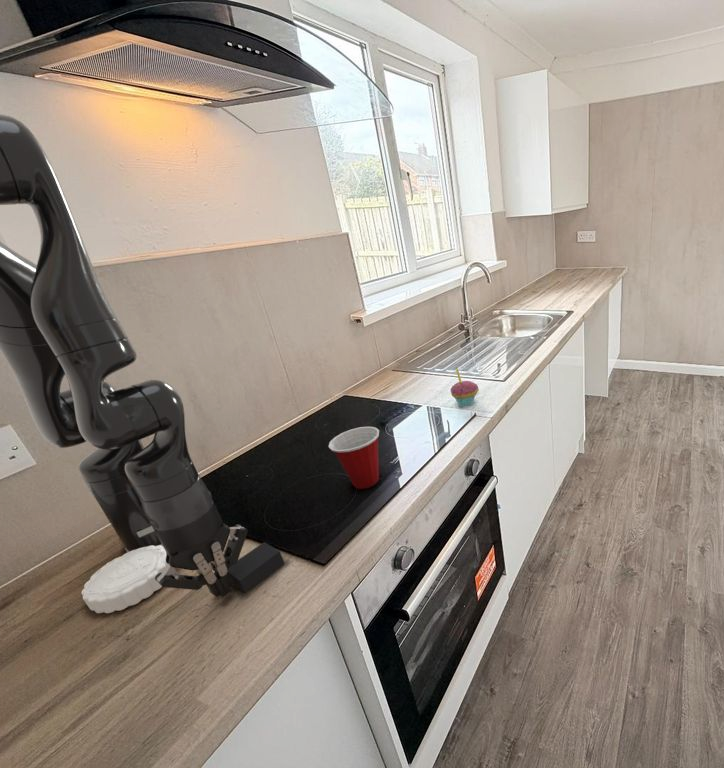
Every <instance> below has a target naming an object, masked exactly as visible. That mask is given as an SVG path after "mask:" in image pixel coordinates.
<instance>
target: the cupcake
mask: <svg viewBox="0 0 724 768" xmlns="http://www.w3.org/2000/svg"><path fill="white" fill-rule="evenodd" d="M455 372H456V375H457V379H458V382H456V383H454V384H453V385H452V386H451V388H450V392H451V393H450V394H451V397H452V398H454V399H455V401H456V402H457V404H458V406H459V407H470V406H472V405H473V404H474V402H475V397H476V395H477V394H478V393H479V391H480V388H479V385H478V384H477V383H475V382H473V381H471V380H462V378H461V373H460V371H459V368H458V367H457V366H455Z"/></svg>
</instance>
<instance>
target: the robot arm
mask: <svg viewBox="0 0 724 768" xmlns="http://www.w3.org/2000/svg"><path fill="white" fill-rule="evenodd" d="M11 205H13V206H14V205H28V206H30V207H31V209H32V211H33V214H34V216H35V219H36V221H37V225H38V229H39V234H40V235H39V236H40V246H39V255H38V259H37V262H36V263H37V264H36V263H34V262H33V261H31V260H30V259H28V258H27V257H25V256H23V255H22V254H19V252H17V251H15V249H12V248H10V247H9V246H8V245H6V244H5V243H4V242H2V241H1V240H0V353H1V355H2V356H3V358H4V360H5V361H6V363H7V365H8V366H9V368H10V370H11V371H12V374H13V375H14V377H15V379H16V382H17V384H18V386H19V389H20V391H21V394H22V397H23V399H24V401H25V403H26V406H27V409H28V411H29V414H30V416H31V418H32V420H33V422H34V425H35V427H36V429H37V430H38V432H39V434H40V435H41V436H42V437H43V439H44V440H45V441H47V442H48V444H50V445H52V446H54V447H56V448H60V449H66V448H71V447H75V446H79V445H82V444H85V443H88V444H89V445H91V446H93V447H95V449H94V450H93V451H92V452H91V453H89V454H88V455H86V456H85V457H84V458H83V459H82V460H81V461H80V462H79V464H78V466H77V468H78V472H79V474H80V476H81V477H82V479H83V481H84V482H85V484H86V486H87V488H88V489H89V491H90V492H91V494H92V495H93V497H94V498H95V500H96V502H97V504H98V505H99V507H100V508H101V510H102V512H103V513H104V515H105V517H106V518H107V520H108V522H109V523H110V525H111V527H112V528H113V530H114V531H115V534H116V535H117V537H118V538H119V540H120V542H121V544H122V545H123V547H124V550H125V551H126V553H128V552H130V551H132V550H136V549H138V548H142V547H148V546H151V545H153V546H158V545H161V546H163V547H164V549H165V551H166V562H167V566H166V567H165V569H164V570H163V572H161V573H158V574H157V575H156V576H155V580H156V581H157V582H158V583H159V584H160V585H161V586H162V587H163V588H169V589H178V590H179V589H181V590H190V591H191V590H192V591H199V590H201V589H202V588H203V587H204V586H206V587H207V588H208V590H209V592H210V594H212V596H214V597H215V598H219V597H220V598H224V597H226V596H227V595H228V594H230V593H232V589H231V588H232V587H233V586H234V584H233V582H232V580H231V578H230V576H229V574H228V569H229V568H230V567H231V566H232V565H235V564H236V563H237V561H238V560H239V559H240V558H239V557H240V555H241V552H242V549H243V548H244V544H245V541H246V538H247V535H248V532H249V530H248V529H247V528H245V527H244V526H242V525H241V524H234V526H229V525H228V524H226V523H225V522H223V521H224V520H223V519H222V517H221V514H220V513H219V511H218V508H217V506H216V504H215V502H214V500H213V496H212V492H210V491H209V488H208V487H207V485H206V483H205V482H204V481H203V479H202V478H201V477H200V475H199V473H198V471H197V468H196V466H195V464H194V462H193V459H192V458H191V454H190V452H189V448H188V442H187V435H186V418H185V417H186V415H185V408H184V402H183V399H182V397H181V395H180V393H179V392H178V390H177V389H176V388H175V387H173V386H172V385H171V384H169V383H168V382H165V381H164V380H160V379H149V380H148V379H147V380H144V381H141V382H137V383H134V384H131V385H128V386H126V387H122V388H120V389H116V388H115V387H114V386H113V385H112V384H111V383H109V382H107V381H105V380H106V379H107V378H108V377H109V376H110V375H112V374H114V373H116V372H118V371H120V370H122V369H125V368H127V367H128V366H130V365H132V364H134V363H135V362H136V360H137V357H138V355H137V352H136V349H135V347H134V345H133V343H132V342H131V340H130V339H129V336H128V335H127V333H126V331H125V329H124V328H123V327H124V326H122V324H121V322H120V320H119V318H118V316H117V315H116V313H115V312H114V310H113V308H112V306H111V304H110V302H109V300H108V298H107V297H106V295H105V293H104V290H103V288H102V286H101V283H100V282H99V279H98V276H97V273H96V272H95V269H94V267H93V264H92V261H91V258H90V256H89V253H88V250H87V248H86V245H85V242H84V239H83V236H82V235H81V232H80V230H79V226H78V224H77V222H76V219H75V217H74V215H73V213H72V210H71V208H70V205H69V203H68V200H67V197H66V195H65V193H64V190H63V188H62V185H61V183H60V181H59V178H58V175H57V173H56V171H55V169H54V167H53V165H52V162H51V160H50V159H49V156H48V155H47V153H46V151H45V150H44V148H43V147H42V144H41V143H40V141H38V139H37V137H36V136H35V134H34V133H33V132H32V131H31V130H30V129H29V128H28V126H26V125H25V123H23V122H22V121H20V120H18V119H17V118H15V117H13V116H10V115H7V114H1V113H0V206H11ZM64 378H66V379H67V382H68V385H69V388H68V389H64V390H62V391H61V386H62V383H63V380H64ZM153 435H154V436H153ZM150 436H153V438H152V441H150V443H149V444H148V445H146V446H145V445H144V443H143V441H142V440H143V439H145V438H148V437H150ZM177 569H180V570H187V571H196V572H197V574H198V575H188V574H180V572H179V571H178V570H177ZM162 587H161V588H162Z"/></svg>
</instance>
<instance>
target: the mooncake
mask: <svg viewBox="0 0 724 768" xmlns="http://www.w3.org/2000/svg"><path fill="white" fill-rule="evenodd" d="M166 566H167V562H166V551H165V549H164V547H163V546H161V545H158V546H153V545H151V546H148V547H142V548H138V549H136V550H132V551H130V552H128V553H127V552H125V553H124V554H123V555H122V556H119V557H116V558H114V559H111V561H109V562H107V563H106V564H105V565H103V566H102V567H101V568H99V569H98V570H97V571H95V572H94V573H93V574H92V575H91V576H90V578H89V580H87V581H86V582H85V584H84V585H83V589H82V590H81V595H82V600H83V601H84V603H85V604H86V606H87V607H88V609H90V611H92V612H93V611H94V613H96V614H103V613H104V614H110V613H114V612H115V611H116V612H120V611H123V610H125V609H126V608H128V607H132V606H135V605H137V604H139V603H140V602H141V601H142V600H144V599H145V600H146V599H147V598H149V597H151V596H152V595H153V594H154V592H156V591H158V590H160V589H161V588H162V586H161V585H160V584H159V583H158V582H157V581H156V580H155V576H156V575H157V574H158V573H161V572H163V570H164V569H165V567H166Z"/></svg>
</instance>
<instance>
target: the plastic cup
mask: <svg viewBox="0 0 724 768" xmlns="http://www.w3.org/2000/svg"><path fill="white" fill-rule="evenodd" d="M379 436H380V430H379V429H378V428H377V427H376V426H375V427H374V426H360V427H356V428H352V429H349V430H346V431H344V432H341V433H339V434H338V435H336V436H334V437H333V438H332V439H331V440H330V441H329V443H328V448H329V449H330V450H331V452H333V453H334V455H335V456H336V458H338V460H339V462H340V464H341V466H342V468H343V470H344V472H345V474H346V475H347V476H348V478H349V480H350V482H351V484H352V486H354V488H355V489H359V490H364V489H369V488H371V487H374V486H375V485H376V484H378V481H380V470H379V469H380V462H379V461H380V460H379Z"/></svg>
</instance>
